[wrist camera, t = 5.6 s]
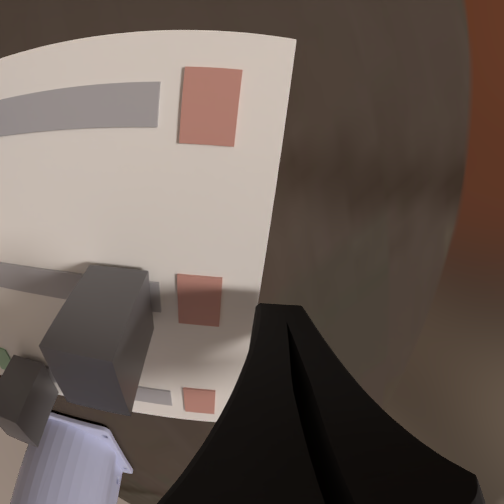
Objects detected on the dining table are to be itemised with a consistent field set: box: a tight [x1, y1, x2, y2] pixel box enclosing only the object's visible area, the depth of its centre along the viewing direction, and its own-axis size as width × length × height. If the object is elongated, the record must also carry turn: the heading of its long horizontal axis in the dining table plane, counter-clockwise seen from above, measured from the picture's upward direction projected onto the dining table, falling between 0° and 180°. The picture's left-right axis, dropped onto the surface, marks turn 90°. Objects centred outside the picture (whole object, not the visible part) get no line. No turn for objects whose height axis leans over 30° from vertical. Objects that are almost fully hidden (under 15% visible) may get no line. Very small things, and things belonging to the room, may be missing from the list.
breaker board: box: [0, 30, 296, 447], centre depth 9 cm, size 16×15×5 cm
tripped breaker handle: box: [39, 265, 154, 416], centre depth 8 cm, size 2×2×4 cm
